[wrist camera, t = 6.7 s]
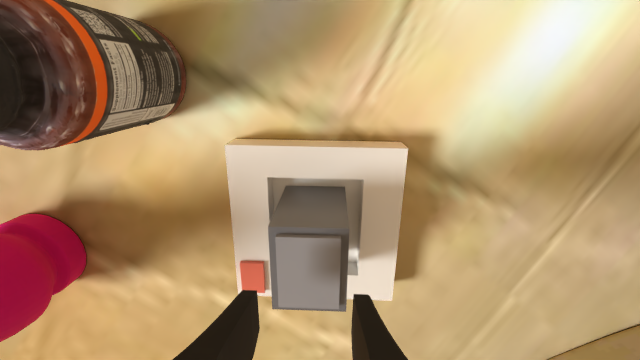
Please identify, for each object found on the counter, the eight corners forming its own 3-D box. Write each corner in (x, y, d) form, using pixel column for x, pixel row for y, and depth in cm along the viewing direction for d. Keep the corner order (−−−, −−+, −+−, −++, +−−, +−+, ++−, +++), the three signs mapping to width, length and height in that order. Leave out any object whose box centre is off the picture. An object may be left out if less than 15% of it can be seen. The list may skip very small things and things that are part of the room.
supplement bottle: (93, 105, 20) (-187, 137, 9) (100, 7, 18) (-244, -96, 7) (182, 133, 20) (13, 196, 10) (198, 40, 18) (8, -12, 8)
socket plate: (401, 141, 20) (409, 149, 18) (387, 282, 23) (392, 303, 21) (234, 138, 20) (222, 146, 18) (246, 277, 24) (237, 297, 21)
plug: (344, 186, 20) (349, 231, 14) (342, 251, 22) (346, 315, 16) (285, 185, 21) (266, 229, 15) (288, 249, 22) (271, 312, 16)
